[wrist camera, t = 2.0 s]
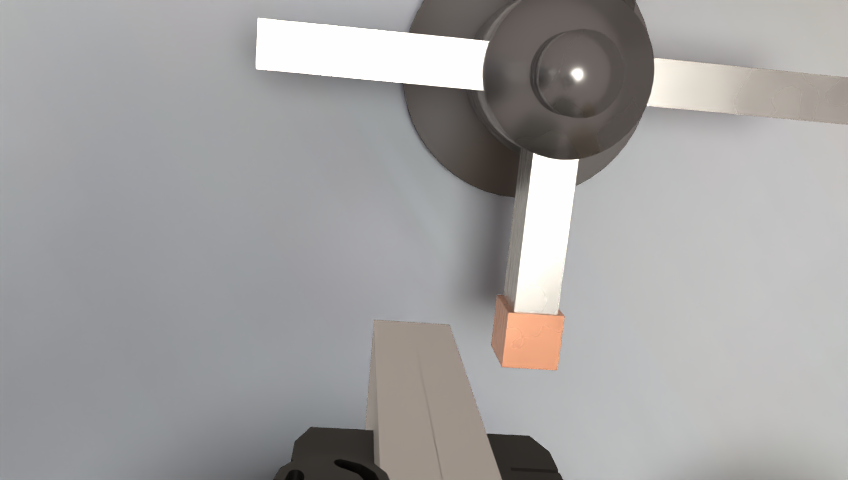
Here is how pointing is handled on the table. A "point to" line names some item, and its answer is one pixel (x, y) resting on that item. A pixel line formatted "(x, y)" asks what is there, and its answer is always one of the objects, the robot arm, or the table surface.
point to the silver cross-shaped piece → (549, 116)
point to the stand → (455, 117)
